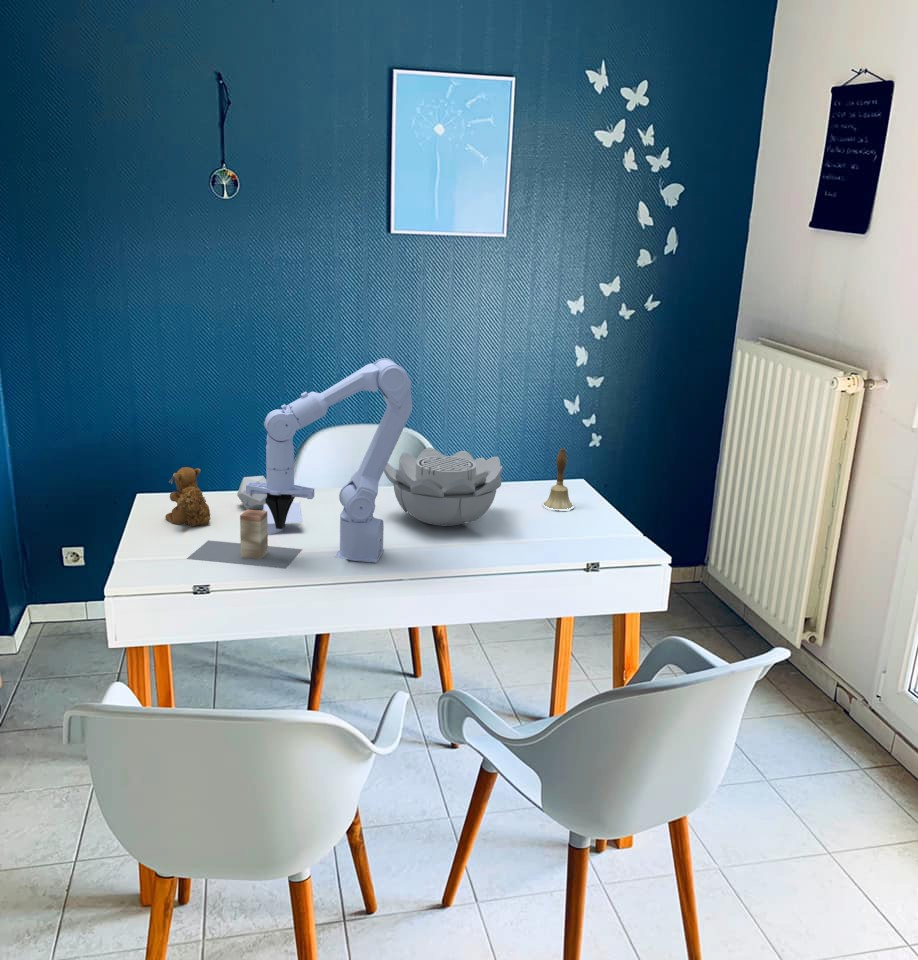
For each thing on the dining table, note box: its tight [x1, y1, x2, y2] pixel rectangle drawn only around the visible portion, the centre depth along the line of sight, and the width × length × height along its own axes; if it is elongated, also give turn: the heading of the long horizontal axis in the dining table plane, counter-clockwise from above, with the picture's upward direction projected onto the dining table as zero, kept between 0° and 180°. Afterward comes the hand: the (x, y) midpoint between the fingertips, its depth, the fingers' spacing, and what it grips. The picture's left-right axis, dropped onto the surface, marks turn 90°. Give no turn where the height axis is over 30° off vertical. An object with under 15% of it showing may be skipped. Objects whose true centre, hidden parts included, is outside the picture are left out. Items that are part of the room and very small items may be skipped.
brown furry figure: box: [164, 466, 211, 528], centre depth 226 cm, size 10×14×13 cm
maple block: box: [239, 509, 269, 559], centre depth 206 cm, size 4×4×10 cm
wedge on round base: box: [261, 502, 304, 536], centre depth 224 cm, size 9×7×13 cm
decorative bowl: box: [383, 447, 503, 527], centre depth 236 cm, size 30×30×15 cm
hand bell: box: [543, 448, 574, 509], centre depth 251 cm, size 8×8×16 cm
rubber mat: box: [186, 540, 303, 569], centre depth 208 cm, size 22×12×1 cm, turn 82°
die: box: [236, 475, 267, 510], centre depth 241 cm, size 8×9×10 cm
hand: (280, 527), depth 205 cm, fingers closed
